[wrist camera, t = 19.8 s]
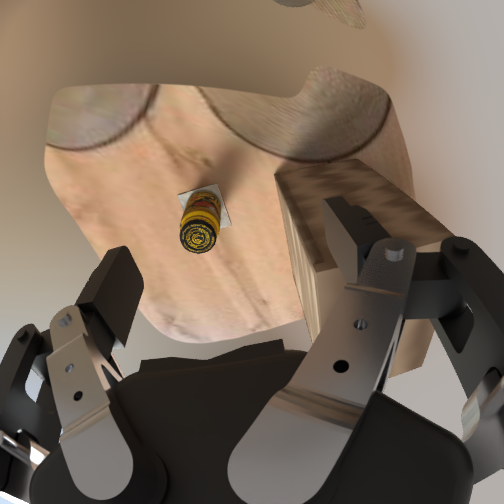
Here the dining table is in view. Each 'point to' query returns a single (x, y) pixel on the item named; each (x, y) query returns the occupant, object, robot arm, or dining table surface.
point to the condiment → (202, 218)
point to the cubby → (319, 256)
